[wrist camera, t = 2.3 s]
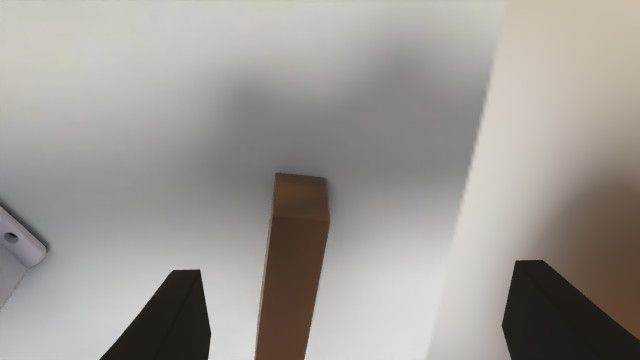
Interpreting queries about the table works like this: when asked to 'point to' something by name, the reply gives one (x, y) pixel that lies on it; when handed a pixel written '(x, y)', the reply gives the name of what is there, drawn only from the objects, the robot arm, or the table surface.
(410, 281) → the table surface
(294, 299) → the wooden block
